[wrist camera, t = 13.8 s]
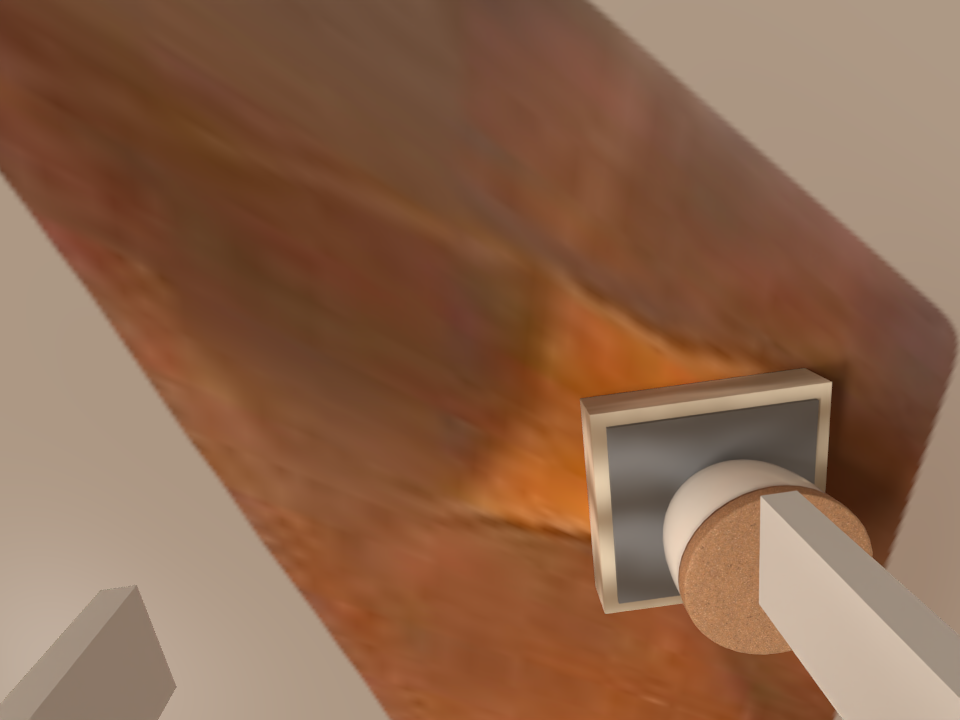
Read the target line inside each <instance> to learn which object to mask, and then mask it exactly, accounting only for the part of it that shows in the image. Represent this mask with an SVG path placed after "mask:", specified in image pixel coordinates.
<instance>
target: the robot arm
mask: <svg viewBox="0 0 960 720" xmlns="http://www.w3.org/2000/svg"><path fill="white" fill-rule="evenodd" d="M759 605H760V606H761V607H762V609H763V610H764V611H765V613H766V614H767V616H768V617H769V618H770V620H771V621H772V623H773V624H774V625H775V627H776V628H777V629H778V631H779V632H780V634H781V635H782V636H783V638H784V639H785V640H786V642H787V643H788V645H789V646H790V647H791V649H792V650H793V651H794V653H795V654H796V656H797V657H798V658H799V660H800V661H801V663H802V664H803V665H804V667H805V668H806V669H807V671H808V672H809V674H810V675H811V676H812V678H813V679H814V680H815V682H816V683H817V685H818V686H819V687H820V689H821V690H822V691H823V693H824V694H825V696H826V697H827V698H828V700H829V701H830V703H831V704H832V705H833V707H834V708H835V709H836V711H837V712H838V714H839V715H840V716H841V718H842V719H843V720H960V636H959V635H958V634H957V633H956V632H955V631H954V630H953V629H952V628H950V627H949V626H948V625H947V624H946V623H945V622H944V621H943V620H941V618H939V617H938V616H937V615H936V614H935V613H934V612H933V611H932V610H930V609H929V608H928V607H927V606H926V605H925V604H924V603H923V602H921V601H920V600H919V599H918V598H917V597H916V596H915V595H914V594H912V593H911V592H910V591H909V590H908V589H907V588H906V587H905V586H904V585H902V584H901V583H900V582H899V581H898V580H897V579H896V578H894V577H893V576H892V575H891V574H890V573H889V572H888V571H887V570H886V569H884V568H883V567H882V566H881V565H880V564H879V563H878V562H877V561H875V560H874V559H873V558H872V557H871V556H870V555H869V554H868V553H867V552H865V551H864V550H863V549H862V548H861V547H860V546H859V545H858V544H856V543H855V542H854V541H853V540H852V539H851V538H850V537H849V536H847V535H846V534H845V533H844V532H843V531H842V530H841V529H840V528H838V527H837V526H836V525H835V524H834V523H833V522H832V521H831V520H830V519H828V518H827V517H826V516H825V515H824V514H823V513H822V512H821V511H819V510H818V509H817V508H816V507H815V506H814V505H813V504H812V503H810V502H809V501H808V500H807V499H806V498H805V497H804V496H803V495H802V494H800V493H799V492H798V491H790V492H783V493H776V494H769V495H762V496H760V559H759ZM175 688H176V685H175V682H174V680H173V677H172V674H171V672H170V669H169V667H168V664H167V662H166V659H165V656H164V654H163V651H162V649H161V646H160V644H159V641H158V639H157V636H156V633H155V631H154V628H153V626H152V623H151V621H150V618H149V615H148V613H147V610H146V608H145V605H144V603H143V600H142V598H141V595H140V593H139V590H138V587H137V585H135V586H128V587H121V588H114V589H107V590H101V591H99V593H98V594H97V595H96V596H95V597H94V598H93V599H92V600H91V602H90V603H89V604H88V605H87V606H86V607H85V609H84V610H83V611H82V612H81V613H80V614H79V615H78V616H77V618H76V619H75V620H74V621H73V622H72V623H71V624H70V625H69V627H68V628H67V629H66V630H65V631H64V632H63V633H62V634H61V636H60V637H59V638H58V639H57V640H56V641H55V642H54V644H53V645H52V646H51V647H50V648H49V649H48V650H47V651H46V653H45V654H44V655H43V656H42V657H41V658H40V659H39V660H38V662H37V663H36V664H35V665H34V666H33V667H32V668H31V669H30V671H29V672H28V673H27V674H26V675H25V676H24V677H23V679H22V680H21V681H20V682H19V683H18V684H17V685H16V687H15V688H14V689H13V690H12V691H11V692H10V693H9V694H8V696H7V697H6V698H5V699H4V700H3V701H2V702H1V703H0V720H158V719H159V717H160V715H161V713H162V711H163V710H164V708H165V706H166V704H167V703H168V701H169V699H170V697H171V696H172V694H173V692H174V690H175Z"/></svg>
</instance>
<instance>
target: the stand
mask: <svg viewBox="0 0 960 720" xmlns="http://www.w3.org/2000/svg"><path fill="white" fill-rule="evenodd" d="M831 393H832V382H831V381H829V380H827V379H825V378H823V377H821V376H819V375H817V374H815V373H814V372H812V371H810V370H808V369H806V368H801V369H794V370H786V371H779V372H772V373H764V374H757V375H750V376H743V377H735V378H728V379H721V380H713V381H706V382H699V383H691V384H684V385H677V386H669V387H662V388H655V389H647V390H640V391H633V392H625V393H618V394H611V395H603V396H596V397H589V398H581V399H580V403H581V416H582V428H583V440H584V452H585V464H586V476H587V489H588V501H589V513H590V525H591V537H592V550H593V562H594V574H595V586H596V589H597V592H598V595H599V598H600V600H601V603H602V606H603V609H604V612H605V614H608V613H615V612H623V611H630V610H637V609H644V608H652V607H659V606H666V605H674V604H681V603H683V601H682V598H681V595H680V593H679V592H678V590H677V588H676V585H675V583H674V581H673V579H672V576H671V573H670V570H669V567H668V564H667V562H666V557H665V552H664V546H663V523H664V518H665V514H666V511H667V509H668V506H669V504H670V501H671V499H672V498H673V496H674V494H675V493H676V491H677V490H678V489H679V488H680V486H681V485H682V484H683V483H684V482H685V481H686V480H687V479H688V478H689V477H691V476H692V475H694V474H695V473H697V472H698V471H700V470H702V469H704V468H706V467H707V466H710V465H713V464H716V463H719V462H723V461H728V460H739V459H748V460H758V461H763V462H767V463H772V464H775V465H777V466H780V467H782V468H785V469H787V470H789V471H792V472H794V473H796V474H798V475H799V476H801V477H803V478H805V479H806V480H808V481H809V482H811V483H813V484H814V485H816V486H817V487H818V488H820V489H821V490H822V491H824V492H825V490H826V474H827V458H828V441H829V425H830V409H831Z"/></svg>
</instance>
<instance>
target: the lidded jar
mask: <svg viewBox="0 0 960 720" xmlns="http://www.w3.org/2000/svg"><path fill="white" fill-rule="evenodd" d="M790 491H798V492H799V493H800V494H802V495H803V496H804V497H805V498H806V499H807V500H808V501H809V502H810V503H812V504H813V505H814V506H815V507H816V508H817V509H818V510H819V511H821V512H822V513H823V514H824V515H825V516H826V517H827V518H828V519H830V520H831V521H832V522H833V523H834V524H835V525H836V526H837V527H838V528H840V529H841V530H842V531H843V532H844V533H845V534H846V535H847V536H849V537H850V538H851V539H852V540H853V541H854V542H855V543H856V544H858V545H859V546H860V547H861V548H862V549H863V550H864V551H865V552H867V553H868V554H869V555H870V556H871V557H872V558H873V552H872V547H871V542H870V538H869V536H868V534H867V531H866V529H865V527H864V526H863V524H862V523H861V521H860V520H859V519H858V517H857V516H856V515H854V514H853V513H852V512H851V511H850V510H849V509H848V508H847V507H846V506H845V505H843V504H842V503H841V502H839V501H837V500H836V499H834V498H833V497H831V496H829V495H828V494H826V493H825V492H824V491H822V490H821V489H820V488H818V487H817V486H816V485H814V484H813V483H811V482H809V481H808V480H806V479H805V478H803V477H801V476H799V475H798V474H796V473H794V472H792V471H789V470H787V469H785V468H782V467H780V466H777V465H775V464H772V463H767V462H763V461H758V460H748V459H739V460H728V461H723V462H719V463H716V464H713V465H710V466H707V467H706V468H704V469H702V470H700V471H698V472H697V473H695V474H694V475H692V476H691V477H689V478H688V479H687V480H686V481H685V482H684V483H683V484H682V485H681V486H680V488H679V489H678V490H677V491H676V493H675V494H674V496H673V498H672V499H671V501H670V504H669V506H668V509H667V511H666V514H665V518H664V523H663V546H664V552H665V557H666V562H667V564H668V567H669V570H670V573H671V576H672V579H673V581H674V583H675V585H676V588H677V590H678V592H679V593H680V595H681V598H682V601H683V604H684V607H685V609H686V610H687V612H688V614H689V616H690V617H691V619H692V621H693V622H694V624H695V625H696V627H697V628H698V629H699V630H700V631H701V632H702V633H703V634H704V635H705V636H707V637H708V638H709V639H710V640H712V641H713V642H715V643H717V644H719V645H721V646H723V647H726V648H729V649H731V650H734V651H737V652H743V653H749V654H763V655H764V654H774V653H781V652H786V651H791V650H792V649H791V647H790V646H789V645H788V643H787V642H786V640H785V639H784V638H783V636H782V635H781V634H780V632H779V631H778V629H777V628H776V627H775V625H774V624H773V623H772V621H771V620H770V618H769V617H768V616H767V614H766V613H765V611H764V610H763V609H762V607H761V606H760V605H759V559H760V496H762V495H769V494H776V493H783V492H790Z"/></svg>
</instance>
